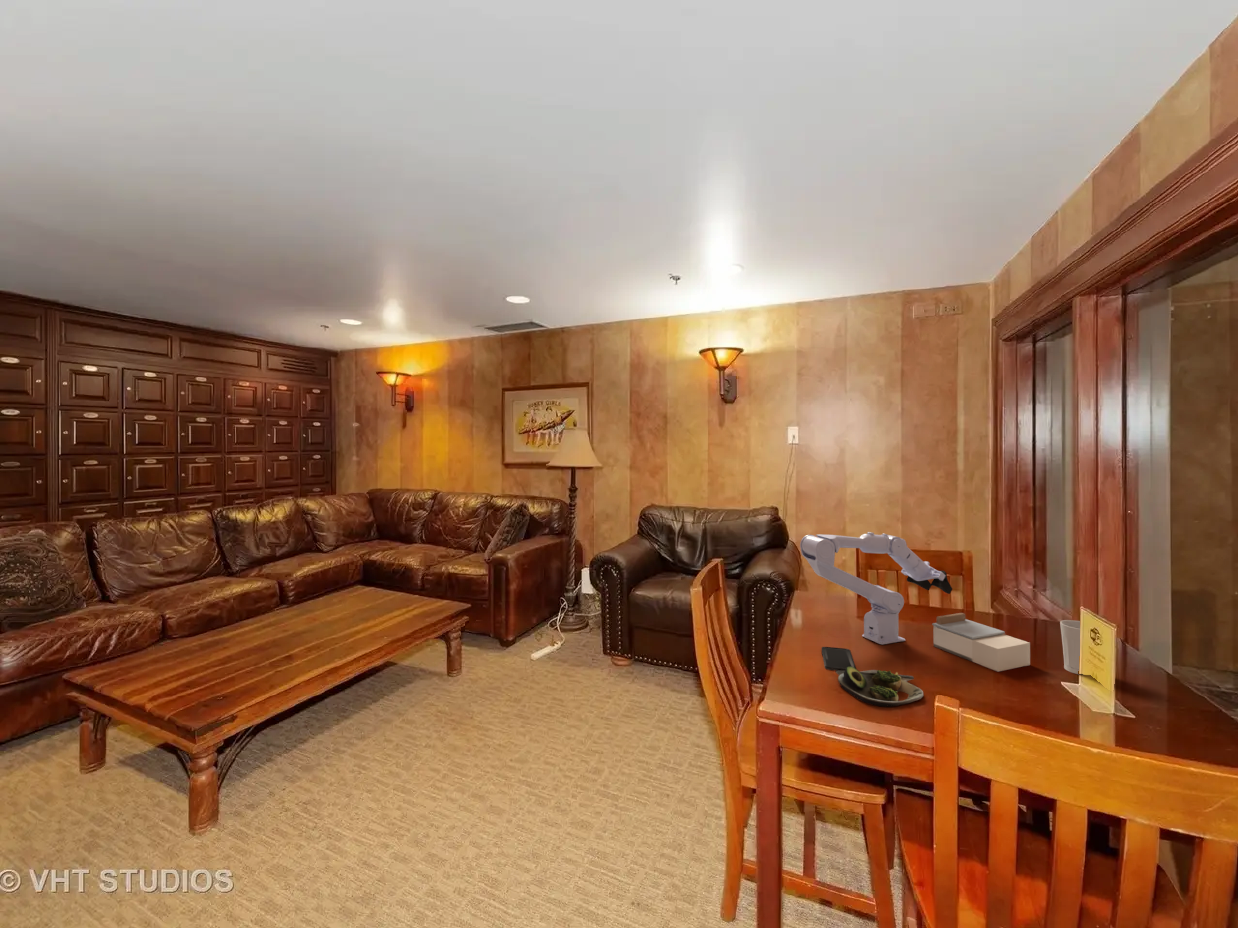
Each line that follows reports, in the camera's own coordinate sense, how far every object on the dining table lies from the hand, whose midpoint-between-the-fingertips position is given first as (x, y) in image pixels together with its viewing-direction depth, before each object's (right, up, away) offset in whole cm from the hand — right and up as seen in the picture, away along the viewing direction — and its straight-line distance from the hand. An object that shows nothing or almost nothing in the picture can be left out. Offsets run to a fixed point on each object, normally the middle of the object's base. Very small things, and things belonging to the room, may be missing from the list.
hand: (939, 589), depth 164 cm
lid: (-1, -8, -14) cm, 16 cm away
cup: (+19, -14, -29) cm, 37 cm away
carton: (+1, -14, -17) cm, 22 cm away
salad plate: (-38, -16, -37) cm, 56 cm away
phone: (-40, -16, -18) cm, 47 cm away
